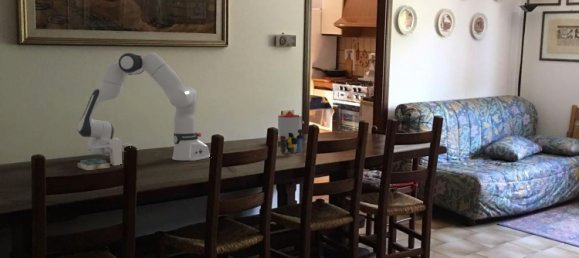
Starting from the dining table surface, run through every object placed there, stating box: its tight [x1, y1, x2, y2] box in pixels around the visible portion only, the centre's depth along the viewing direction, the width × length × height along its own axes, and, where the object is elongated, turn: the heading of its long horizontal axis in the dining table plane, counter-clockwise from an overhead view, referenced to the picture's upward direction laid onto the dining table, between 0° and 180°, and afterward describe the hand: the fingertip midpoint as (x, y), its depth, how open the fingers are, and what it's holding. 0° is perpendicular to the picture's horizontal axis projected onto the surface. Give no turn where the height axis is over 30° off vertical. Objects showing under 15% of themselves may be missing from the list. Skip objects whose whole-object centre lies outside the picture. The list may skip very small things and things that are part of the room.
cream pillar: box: [109, 137, 123, 166], centre depth 311 cm, size 4×4×14 cm
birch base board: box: [76, 157, 111, 171], centre depth 304 cm, size 12×12×4 cm
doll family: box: [278, 128, 306, 157], centre depth 344 cm, size 23×9×13 cm, turn 160°
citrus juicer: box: [277, 110, 305, 142], centre depth 391 cm, size 16×17×20 cm
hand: (116, 150), depth 310 cm, fingers closed on cream pillar, 4 cm apart
